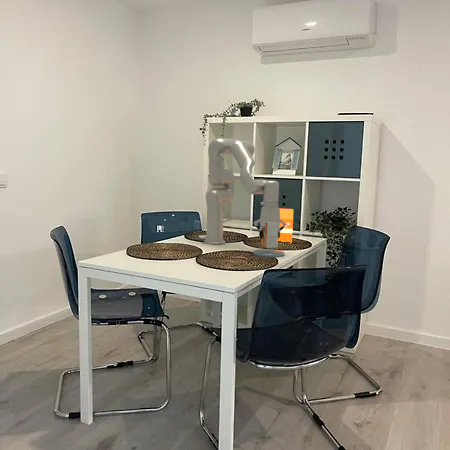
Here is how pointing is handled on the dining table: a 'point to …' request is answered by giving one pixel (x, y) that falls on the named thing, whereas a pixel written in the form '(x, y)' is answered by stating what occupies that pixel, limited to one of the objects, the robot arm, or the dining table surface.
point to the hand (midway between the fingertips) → (269, 238)
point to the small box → (270, 235)
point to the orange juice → (287, 231)
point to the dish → (268, 253)
